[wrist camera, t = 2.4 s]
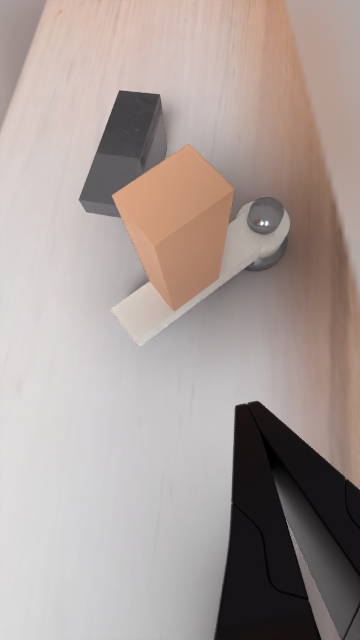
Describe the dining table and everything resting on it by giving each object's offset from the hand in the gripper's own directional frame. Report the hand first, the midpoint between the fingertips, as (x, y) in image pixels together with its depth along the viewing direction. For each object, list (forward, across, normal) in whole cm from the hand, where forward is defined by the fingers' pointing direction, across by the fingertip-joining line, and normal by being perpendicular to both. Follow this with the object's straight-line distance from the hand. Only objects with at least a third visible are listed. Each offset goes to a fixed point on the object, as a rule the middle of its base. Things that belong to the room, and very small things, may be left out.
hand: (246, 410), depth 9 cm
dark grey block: (+22, +3, -6) cm, 23 cm away
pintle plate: (+16, -6, -1) cm, 17 cm away
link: (+14, -1, 0) cm, 14 cm away
